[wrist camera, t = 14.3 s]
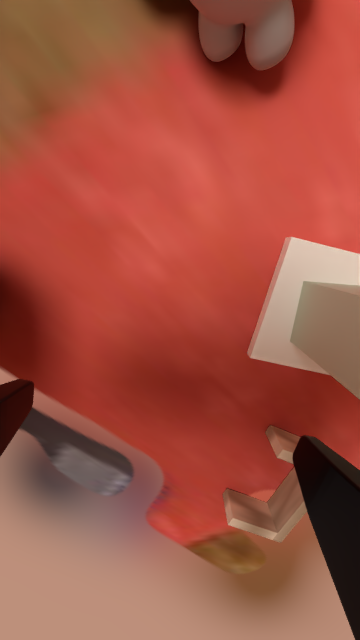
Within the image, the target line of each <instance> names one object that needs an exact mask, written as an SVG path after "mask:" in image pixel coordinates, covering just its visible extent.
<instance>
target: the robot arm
mask: <svg viewBox="0 0 360 640" xmlns="http://www.w3.org/2000/svg"><path fill="white" fill-rule="evenodd" d="M33 395H34V383H33V382H32V381H29V380H24V379H17V380H14V381H11V382H8V383H5V384H2V385H0V456H1V455H2V453H3V452H4V450H5V449H6V447H7V446H8V444H9V443H10V441H11V440H12V438H13V437H14V435H15V434H16V432H17V431H18V429H19V427H20V426H21V424H22V423H23V421H24V420H25V418H26V417H27V415H28V414H29V412H30V410H31V408H32V405H33ZM292 459H293V464H294V467H295V471H296V474H297V478H298V481H299V485H300V489H301V492H302V496H303V499H304V503H305V506H306V509H307V512H308V515H309V518H310V520H311V523H312V526H313V529H314V531H315V534H316V536H317V539H318V542H319V545H320V547H321V550H322V553H323V555H324V558H325V560H326V563H327V566H328V569H329V571H330V574H331V577H332V579H333V582H334V585H335V587H336V590H337V592H338V595H339V598H340V600H341V603H342V606H343V608H344V611H345V614H346V616H347V619H348V622H349V624H350V627H351V630H352V632H353V635H354V638H355V640H360V470H359V469H357V468H356V467H355V466H353V465H352V464H351V463H349V462H348V461H347V460H345V459H344V458H342V457H341V456H340V455H338V454H337V453H336V452H334V451H333V450H332V449H330V448H329V447H328V446H326V445H325V444H324V443H322V442H321V441H320V440H318V439H317V438H315V437H311V436H306V435H303V436H301V437H300V439H299V441H298V443H297V446H296V448H295V450H294V452H293V457H292Z"/></svg>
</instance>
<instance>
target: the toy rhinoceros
mask: <svg viewBox="0 0 360 640" xmlns="http://www.w3.org/2000/svg"><path fill="white" fill-rule="evenodd" d="M190 2H191V3H192V4H193V5H194V6H195V7H196V8H197V9H198V10H199V20H198V25H199V37H200V43H201V46H202V49H203V51H204V53H205V55H206V56H207V57H208V59H210V60H211V61H214V62H219V61H222V60H225V59H226V58H228V57H229V56H231V55H232V54H233V53H234V52H235V51H236V50H237V48H238V47H239V45H240V43H241V40H242V35H243V23H244V24H245V50H246V55H247V59H248V61H249V63H250V65H251V66H252V67H253V68H255V69H256V70H266V69H269V68H271V67H273V66H275V65H277V64H278V63H279V62H280V61H282V60H283V59H284V57H285V56H286V55H287V53H288V52H289V50H290V47H291V44H292V41H293V36H294V10H293V5H292V0H190Z"/></svg>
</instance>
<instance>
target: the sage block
mask: <svg viewBox="0 0 360 640" xmlns="http://www.w3.org/2000/svg"><path fill="white" fill-rule="evenodd" d="M290 342H291V343H293V344H294V345H295V346H296V347H297V348H299V349H300V350H301V351H302V352H303V353H305V354H306V355H307V356H308V357H309V358H311V359H312V360H313V361H314V362H315V363H317V364H318V365H319V366H320V367H321V368H323V369H324V370H325V371H326V372H327V373H329V374H330V375H331V376H332V377H333V378H334V379H336V380H337V381H338V382H339V383H340V384H342V385H343V386H344V387H345V388H346V389H348V390H349V391H350V392H351V393H352V394H354V395H355V396H356V397H357V398H358V399H360V286H359V285H347V284H335V283H322V282H310V281H303V285H302V289H301V294H300V298H299V303H298V307H297V312H296V316H295V320H294V325H293V329H292V334H291V338H290Z"/></svg>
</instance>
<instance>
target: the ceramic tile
mask: <svg viewBox="0 0 360 640" xmlns="http://www.w3.org/2000/svg"><path fill="white" fill-rule="evenodd" d="M303 281H310V282H322V283H335V284H347V285H359V286H360V254H357V253H353V252H349V251H345V250H341V249H337V248H333V247H330V246H326V245H322V244H318V243H314V242H310V241H306V240H302V239H298V238H294V237H286V239H285V242H284V245H283V248H282V251H281V254H280V257H279V260H278V263H277V265H276V268H275V271H274V274H273V277H272V280H271V283H270V286H269V289H268V292H267V295H266V298H265V301H264V304H263V307H262V310H261V313H260V316H259V319H258V322H257V325H256V328H255V331H254V333H253V336H252V339H251V342H250V345H249V348H248V351H247V354H248V356H249V357H250V358H252V359H257V360H262V361H266V362H271V363H276V364H280V365H285V366H290V367H294V368H299V369H304V370H308V371H313V372H318V373H322V374H327V375H330V374H329V373H327V372H326V371H325V370H324V369H323V368H321V367H320V366H319V365H318V364H317V363H315V362H314V361H313V360H312V359H311V358H309V357H308V356H307V355H306V354H305V353H303V352H302V351H301V350H300V349H299V348H297V347H296V346H295V345H294V344H293V343H291V342H290V338H291V334H292V329H293V325H294V320H295V316H296V312H297V307H298V303H299V298H300V294H301V289H302V285H303Z"/></svg>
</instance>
